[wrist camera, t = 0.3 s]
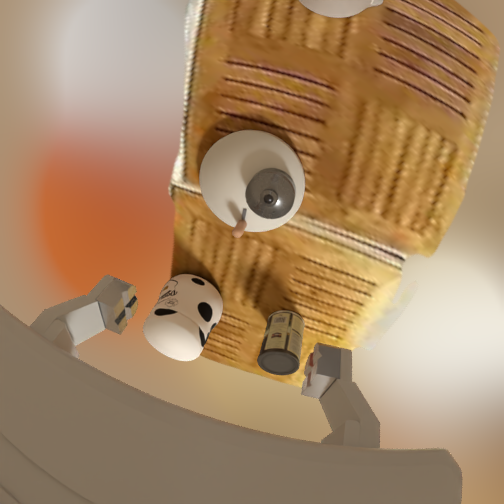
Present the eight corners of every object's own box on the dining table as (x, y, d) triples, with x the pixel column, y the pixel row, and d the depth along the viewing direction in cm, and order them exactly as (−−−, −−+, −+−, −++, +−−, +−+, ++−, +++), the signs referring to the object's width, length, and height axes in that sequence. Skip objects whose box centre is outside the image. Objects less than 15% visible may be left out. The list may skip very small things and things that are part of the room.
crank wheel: (209, 120, 51) (197, 125, 46) (317, 145, 49) (317, 152, 44) (198, 213, 63) (187, 225, 58) (290, 238, 61) (287, 253, 56)
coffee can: (284, 339, 81) (275, 379, 69) (260, 319, 78) (248, 359, 66) (312, 326, 75) (307, 368, 64) (288, 304, 72) (280, 346, 61)
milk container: (166, 262, 74) (132, 307, 60) (227, 276, 72) (203, 328, 57) (171, 307, 84) (145, 351, 69) (225, 321, 82) (205, 371, 67)
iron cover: (254, 162, 52) (248, 169, 48) (301, 175, 51) (299, 182, 47) (246, 204, 57) (240, 214, 53) (289, 216, 56) (286, 227, 52)
